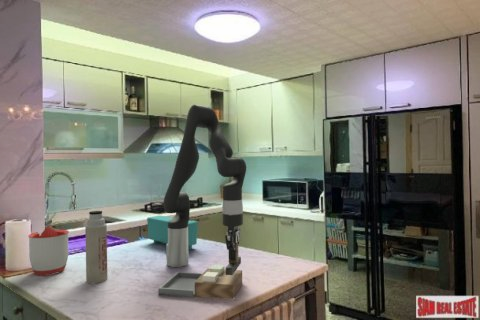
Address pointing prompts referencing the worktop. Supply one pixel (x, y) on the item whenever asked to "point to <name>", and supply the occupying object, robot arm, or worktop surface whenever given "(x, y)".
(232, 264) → the scraper
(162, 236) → the radio
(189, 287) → the bin
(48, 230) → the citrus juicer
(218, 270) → the tile
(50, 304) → the worktop surface
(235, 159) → the robot arm
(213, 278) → the tile
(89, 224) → the thermos bottle
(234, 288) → the board
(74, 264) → the worktop surface
